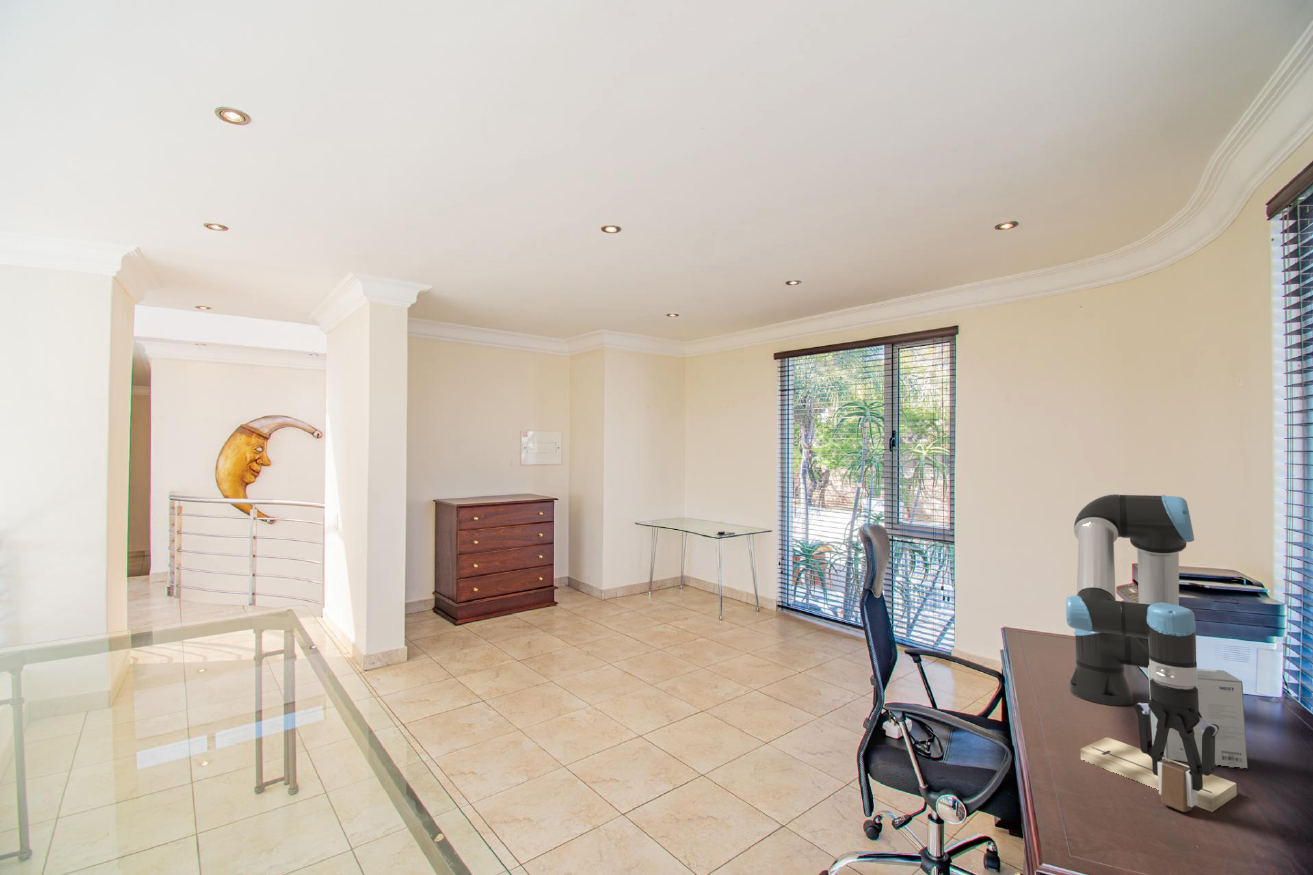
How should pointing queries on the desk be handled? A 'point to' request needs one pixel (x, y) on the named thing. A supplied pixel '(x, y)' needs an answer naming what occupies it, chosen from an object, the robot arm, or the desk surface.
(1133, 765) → the birch board
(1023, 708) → the desk surface
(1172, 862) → the desk surface
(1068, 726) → the desk surface
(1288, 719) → the desk surface
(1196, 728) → the hard drive box
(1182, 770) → the wooden block
